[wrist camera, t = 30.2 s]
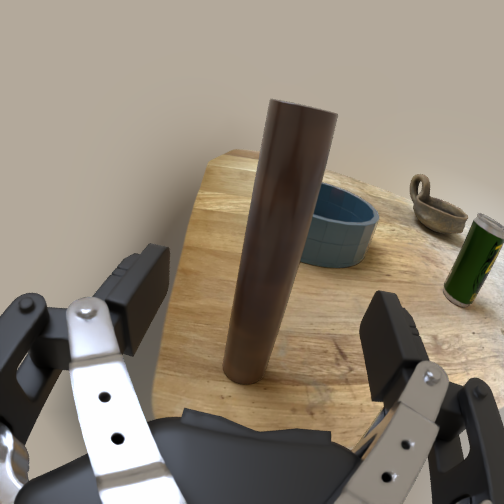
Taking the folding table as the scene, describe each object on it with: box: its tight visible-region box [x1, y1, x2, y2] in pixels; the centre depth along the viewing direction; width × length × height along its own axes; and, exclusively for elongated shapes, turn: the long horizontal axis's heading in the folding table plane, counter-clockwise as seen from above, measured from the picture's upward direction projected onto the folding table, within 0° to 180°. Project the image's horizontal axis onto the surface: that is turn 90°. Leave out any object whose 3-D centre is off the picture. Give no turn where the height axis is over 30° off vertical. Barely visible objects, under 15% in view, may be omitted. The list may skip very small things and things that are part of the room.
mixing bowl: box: [300, 182, 379, 268], centre depth 42 cm, size 17×17×6 cm
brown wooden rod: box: [223, 99, 338, 384], centre depth 17 cm, size 3×3×18 cm
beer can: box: [443, 213, 504, 307], centre depth 32 cm, size 5×5×12 cm
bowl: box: [410, 174, 468, 234], centre depth 58 cm, size 14×18×10 cm
